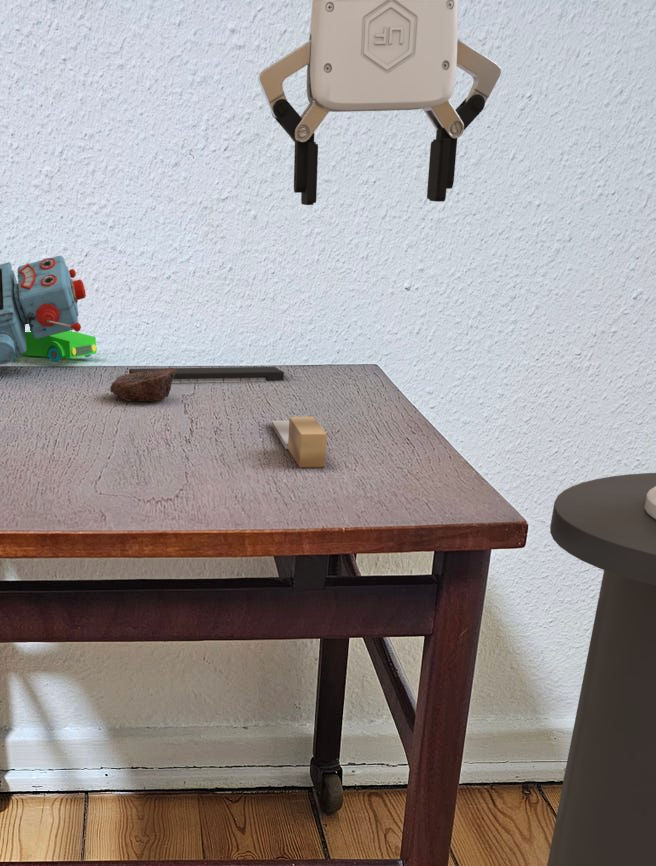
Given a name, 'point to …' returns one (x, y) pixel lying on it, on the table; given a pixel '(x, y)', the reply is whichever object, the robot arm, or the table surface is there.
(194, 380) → the dark grey flat bar
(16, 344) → the toy robot
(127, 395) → the stone
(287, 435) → the knife
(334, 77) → the robot arm
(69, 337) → the toy car
